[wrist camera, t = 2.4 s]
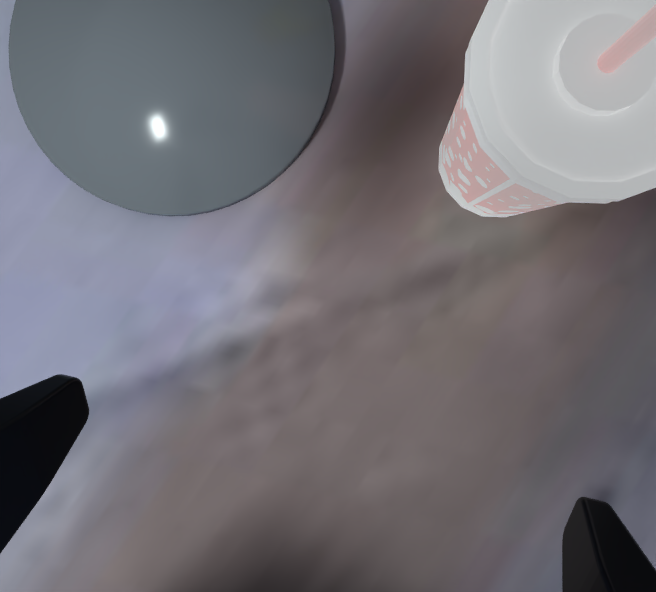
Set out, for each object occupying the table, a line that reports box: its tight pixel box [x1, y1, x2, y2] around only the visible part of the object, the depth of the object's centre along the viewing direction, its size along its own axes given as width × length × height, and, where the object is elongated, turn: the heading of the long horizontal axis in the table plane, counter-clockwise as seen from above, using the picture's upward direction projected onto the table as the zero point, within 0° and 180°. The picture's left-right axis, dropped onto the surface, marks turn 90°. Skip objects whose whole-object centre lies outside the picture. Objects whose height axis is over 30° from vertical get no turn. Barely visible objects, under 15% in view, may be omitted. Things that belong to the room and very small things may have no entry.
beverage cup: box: [439, 0, 656, 217], centre depth 14 cm, size 6×6×14 cm
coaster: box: [9, 0, 335, 216], centre depth 21 cm, size 13×13×1 cm
